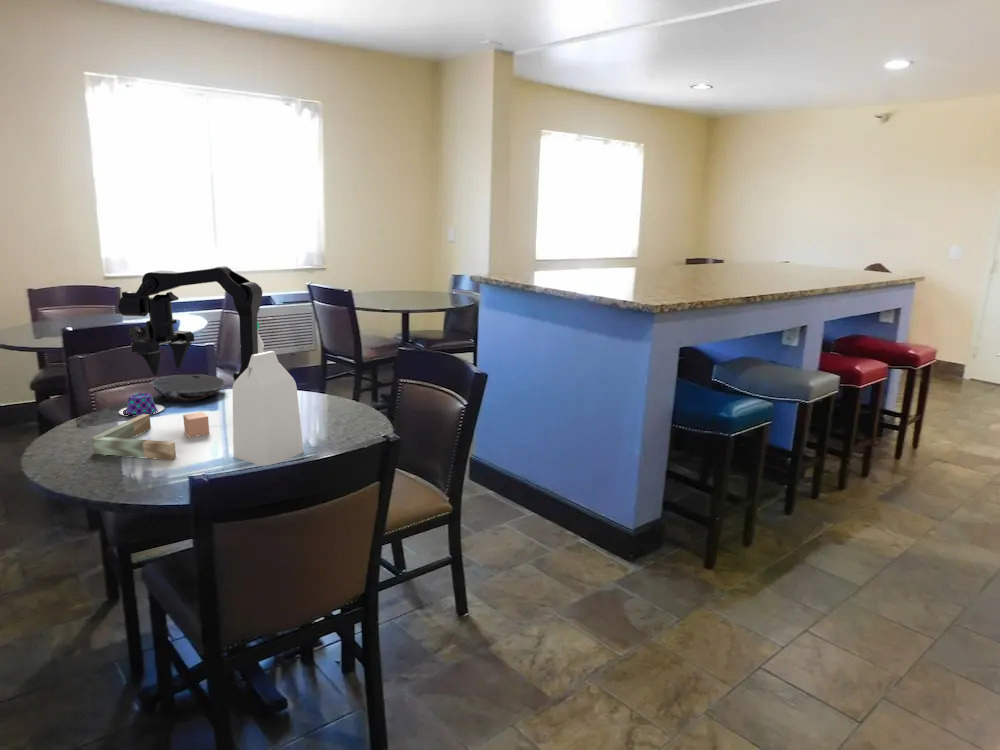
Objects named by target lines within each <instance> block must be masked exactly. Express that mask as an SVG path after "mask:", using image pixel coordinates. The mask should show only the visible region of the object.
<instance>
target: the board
mask: <svg viewBox="0 0 1000 750" xmlns="http://www.w3.org/2000/svg"><path fill="white" fill-rule="evenodd" d="M150 383H151V385H152V386H153V389H154V390H155V391H156V393H159V394H160V395H162V396H164V397H165V398H166V399H167V400H168V401H170V400H171V402H183V401H184V402H185V403H186V402H187V401H189V402H192V401H199V400H203V399H205V398H209V397H211V396H213V395H216V394H217V393H219V392H220V391H221V390H222V388H224V386H225V385H226V384H227V383H226V380H224V379H223V378H220V377H217V376H214V375H213V376H212V375H205V374H177V375H176V374H175V375H174V374H172V375H166V376H162V377H158V378H155V379H154V380H151V382H150ZM187 403H188V402H187Z"/></svg>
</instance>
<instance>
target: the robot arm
mask: <svg viewBox="0 0 1000 750" xmlns="http://www.w3.org/2000/svg"><path fill="white" fill-rule="evenodd" d="M208 283H218V284H219V285H220V286H221V287H222V289H223V290H224V291H225V292H226V293H227V294H228V295H230V296H231V298H232V300H233V305H234V308H235V310H236V312H237V314H238V318H239V343H240V344H239V349H240V368H239V370H238V371H234V373H233V376H232V377H233V380H234V382H235V381H236V379H237V378H238V377H239V376H240V375H241V374H242V373H243V372H244V371H245V370H246V369H247V368H248V365H249V362H250V359H251V356H252V355H254V354H258V334H259V333H257V322H258V314H259V311H260V307H261V304H262V298H263V288H262V286H260V285H259V284H258V283H256V282H253V281H250V280H248V278H246V277H244V276H242V275H240V274H239V273H236V272H235V271H233V269H231V268H230V267H228V266H225V265H223V266H222V265H221V266H217V267H214V268H205V269H198V270H189V271H173V270H156V271H150V272H149V271H148V272H146V273H145V274H143V277H142V279H141V283H140V285H139V286H138V289H137V291H127V290H126V291H122V292H121V297H120V299H119V300H118V301H119V302H118V306H117V307H118V311H119V314H120V315H122V316H124V317H147V315H149V320H146V322H145V326H143V327H139V326H138V325H135V326H131V327H129V328H128V335H129V338H130V339H131V340H135V341H132V343H131V344H130V349H131V352H132V353H135V354H136V355H140V356H141V357H142V358H143V359H144V360H145V362H146V364H147V366H148V368H149V369H150V372H151V373H152V375H153V376H158V375H159V374H158V373H159V371H160V370H159V367H160V359H161V351H159V349H160V346H165V345H168V346H169V347H170V348H171V349H172V354H173V360H174V365H175V368H176V369H180V368H181V366H182V363H183V362H184V359H185V357H186V354H187V352H188V350H189V348H190V346H191V345H193V342H195V335H194V333H193V332H192V331H187V330H176V331H175V328H174V324H177V319H174V317H173V309H172V308H173V307H172V302H175V301H178V300H179V297H178V296H177V295H176V294H174V293H173V292H172V291H171V290H173V289H176V288H179V287H183V286H191V285H192V286H193V285H200V284H208ZM167 291H168V292H167ZM162 292H166V293H165V294H160V293H162ZM153 295H154V296H153ZM150 296H153V297H150Z"/></svg>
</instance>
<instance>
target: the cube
mask: <svg viewBox="0 0 1000 750" xmlns="http://www.w3.org/2000/svg"><path fill="white" fill-rule="evenodd" d="M182 416H183V426H184V427H183V429H184V433H185V432H186V433H185V434H186V435H187V434H188V435H187V436H188V437H189V438H193V437H192V436H194V437H198V436H197V435H200V436H204V435H203V434H206V435H210V424H209V416H208V415H207V414H206V413H204V411H201V412H194V413H188V414H187V413H186V414H183V415H182Z"/></svg>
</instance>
